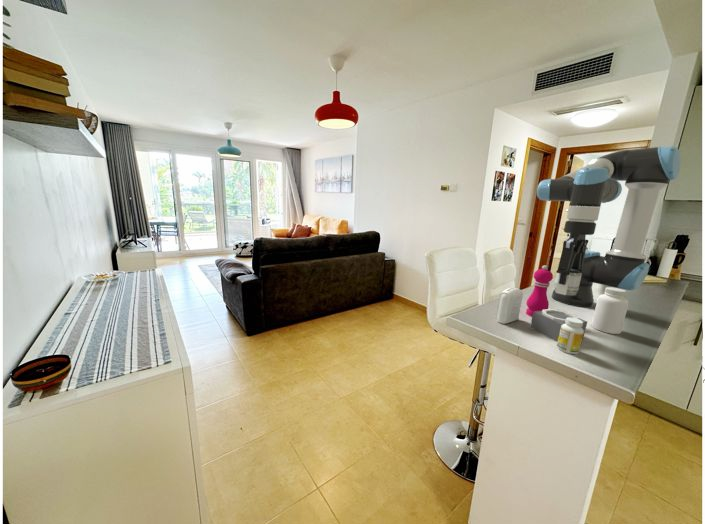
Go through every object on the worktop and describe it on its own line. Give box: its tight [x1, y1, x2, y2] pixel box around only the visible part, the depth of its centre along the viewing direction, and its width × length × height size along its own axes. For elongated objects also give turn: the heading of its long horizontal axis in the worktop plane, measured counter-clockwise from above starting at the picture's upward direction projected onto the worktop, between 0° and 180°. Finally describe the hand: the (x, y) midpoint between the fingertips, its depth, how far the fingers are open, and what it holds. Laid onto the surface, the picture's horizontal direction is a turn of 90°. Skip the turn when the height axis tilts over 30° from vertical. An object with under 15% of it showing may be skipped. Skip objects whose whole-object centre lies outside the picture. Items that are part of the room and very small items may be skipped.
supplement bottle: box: [556, 317, 585, 355], centre depth 83 cm, size 5×5×10 cm
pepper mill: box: [525, 264, 554, 318], centre depth 108 cm, size 7×7×20 cm
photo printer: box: [495, 287, 524, 325], centre depth 102 cm, size 10×4×12 cm, turn 123°
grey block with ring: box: [529, 308, 588, 343], centre depth 94 cm, size 11×10×7 cm
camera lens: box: [554, 269, 582, 295], centre depth 91 cm, size 6×6×8 cm
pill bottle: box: [591, 286, 629, 335], centre depth 98 cm, size 8×8×15 cm
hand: (565, 291), depth 92 cm, fingers closed on camera lens, 6 cm apart
